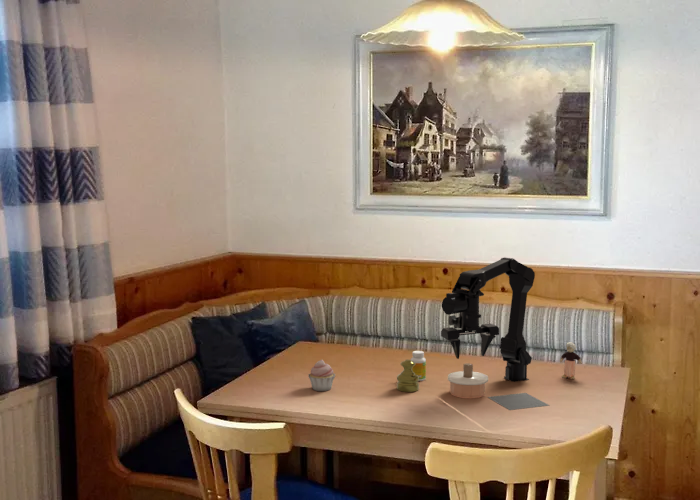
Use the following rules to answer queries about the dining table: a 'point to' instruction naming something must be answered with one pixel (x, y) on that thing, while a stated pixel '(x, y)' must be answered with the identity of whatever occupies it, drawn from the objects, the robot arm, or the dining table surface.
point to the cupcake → (321, 376)
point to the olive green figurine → (407, 378)
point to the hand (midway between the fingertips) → (470, 357)
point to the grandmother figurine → (570, 361)
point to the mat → (518, 401)
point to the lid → (468, 376)
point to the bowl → (467, 390)
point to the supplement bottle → (419, 364)
